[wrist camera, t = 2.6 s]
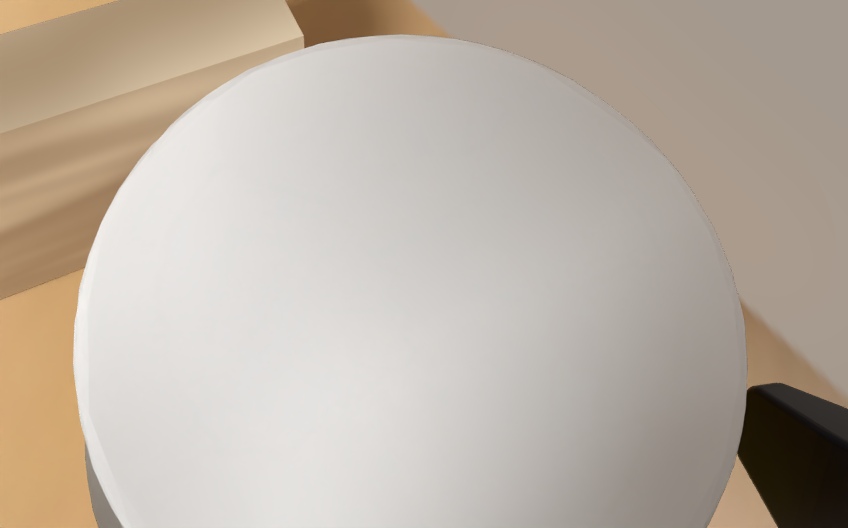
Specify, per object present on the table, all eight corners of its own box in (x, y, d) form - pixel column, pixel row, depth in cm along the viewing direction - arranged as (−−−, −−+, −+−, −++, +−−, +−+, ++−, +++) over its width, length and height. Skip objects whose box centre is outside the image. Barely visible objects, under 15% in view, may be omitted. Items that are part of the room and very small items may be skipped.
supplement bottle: (413, 289, 19) (562, -160, 7) (553, 523, 17) (1087, 484, 5) (166, 417, 17) (-239, 111, 5) (296, 694, 15) (173, 1287, 3)
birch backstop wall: (311, 180, 19) (304, 36, 14) (-234, 388, 16) (-538, 307, 10) (281, 121, 20) (262, -42, 14) (-252, 310, 16) (-549, 192, 11)
